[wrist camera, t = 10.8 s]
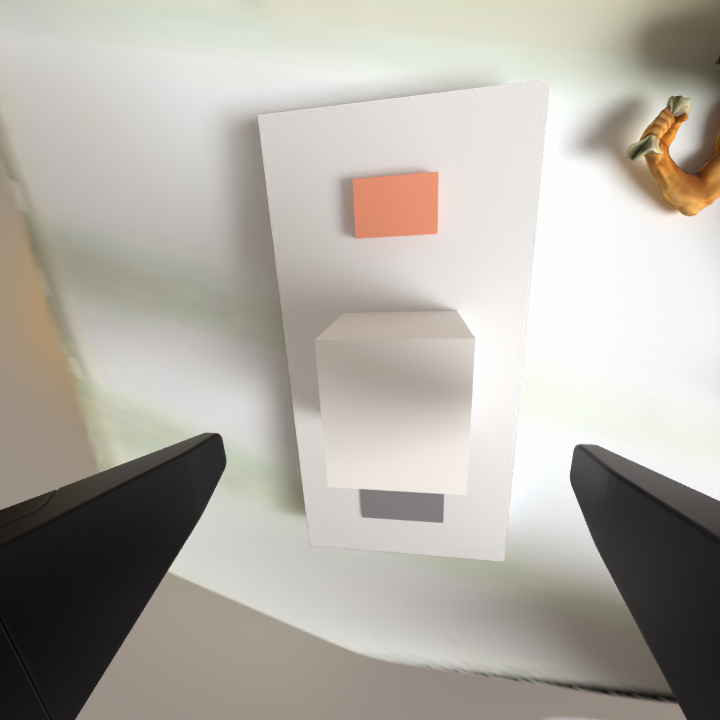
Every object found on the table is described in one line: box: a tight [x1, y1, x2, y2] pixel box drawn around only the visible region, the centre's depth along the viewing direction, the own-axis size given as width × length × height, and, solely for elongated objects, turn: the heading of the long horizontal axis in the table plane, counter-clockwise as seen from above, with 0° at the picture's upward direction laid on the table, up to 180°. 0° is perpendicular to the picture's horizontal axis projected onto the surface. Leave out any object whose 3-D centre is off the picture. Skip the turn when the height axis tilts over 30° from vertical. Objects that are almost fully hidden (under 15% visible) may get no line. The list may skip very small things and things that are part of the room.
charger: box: [315, 310, 475, 495], centre depth 14 cm, size 5×5×6 cm
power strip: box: [257, 79, 550, 562], centre depth 16 cm, size 20×10×3 cm, turn 3°
